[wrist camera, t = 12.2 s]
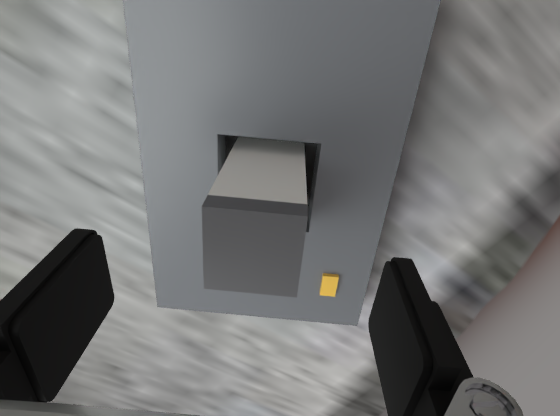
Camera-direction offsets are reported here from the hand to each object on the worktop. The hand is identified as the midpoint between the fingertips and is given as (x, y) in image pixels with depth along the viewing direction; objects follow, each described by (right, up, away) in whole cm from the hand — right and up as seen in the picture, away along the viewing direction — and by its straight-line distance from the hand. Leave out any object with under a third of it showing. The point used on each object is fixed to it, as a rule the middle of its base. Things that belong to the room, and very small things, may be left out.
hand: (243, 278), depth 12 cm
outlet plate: (+1, +5, +10) cm, 11 cm away
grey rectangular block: (+1, +5, +10) cm, 11 cm away
